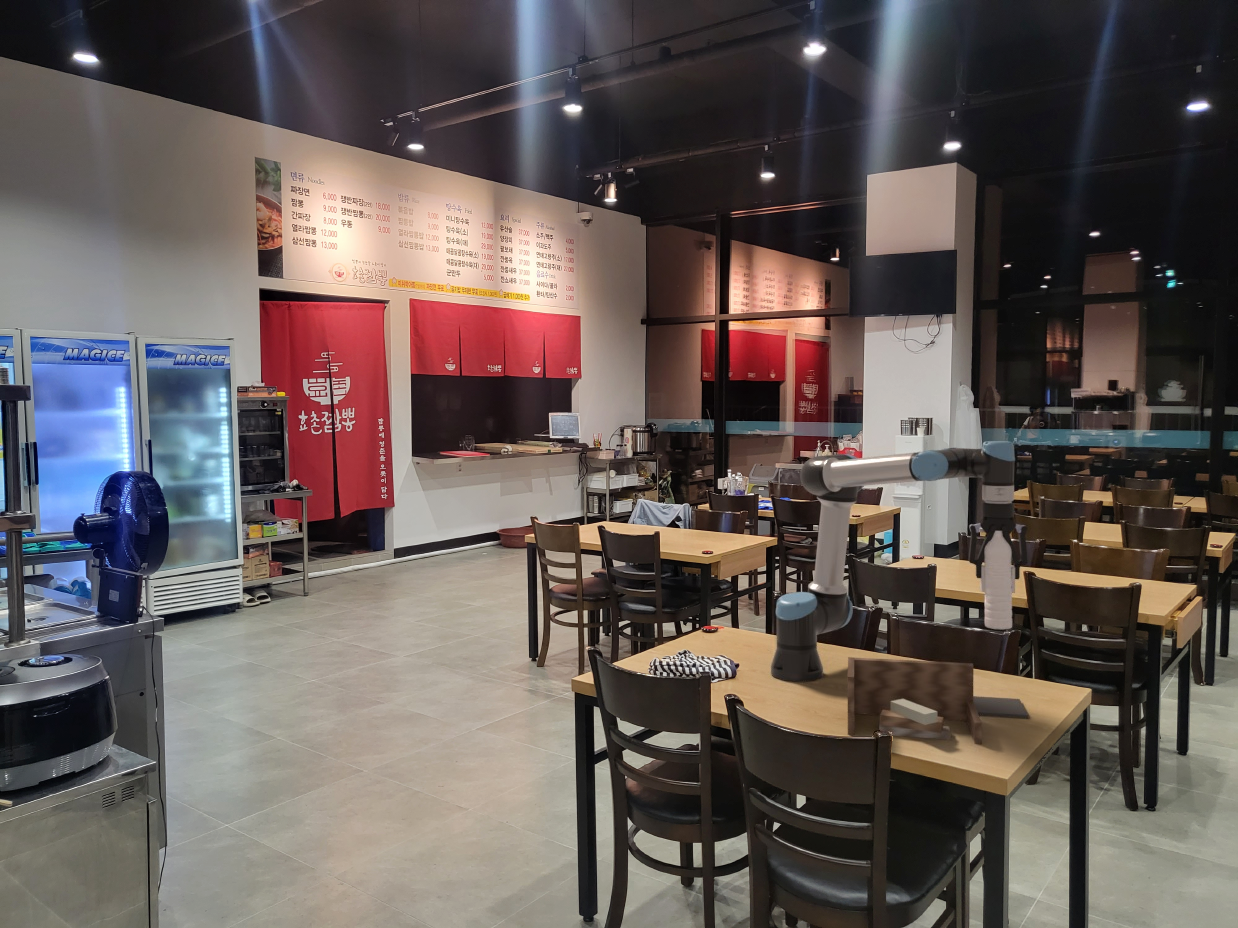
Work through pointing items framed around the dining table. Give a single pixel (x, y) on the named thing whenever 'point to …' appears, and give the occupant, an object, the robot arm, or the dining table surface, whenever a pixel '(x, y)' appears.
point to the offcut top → (914, 711)
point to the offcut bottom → (916, 732)
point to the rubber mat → (1000, 707)
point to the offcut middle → (909, 722)
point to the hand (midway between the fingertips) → (997, 591)
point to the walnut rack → (913, 689)
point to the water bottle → (998, 582)
